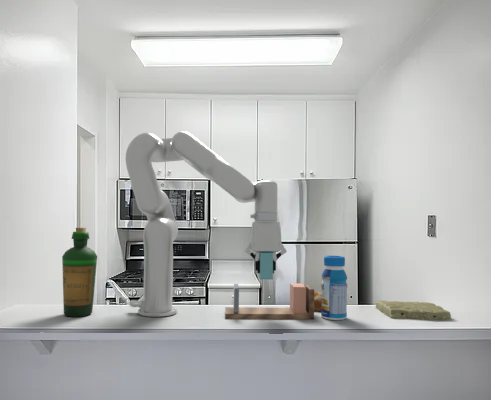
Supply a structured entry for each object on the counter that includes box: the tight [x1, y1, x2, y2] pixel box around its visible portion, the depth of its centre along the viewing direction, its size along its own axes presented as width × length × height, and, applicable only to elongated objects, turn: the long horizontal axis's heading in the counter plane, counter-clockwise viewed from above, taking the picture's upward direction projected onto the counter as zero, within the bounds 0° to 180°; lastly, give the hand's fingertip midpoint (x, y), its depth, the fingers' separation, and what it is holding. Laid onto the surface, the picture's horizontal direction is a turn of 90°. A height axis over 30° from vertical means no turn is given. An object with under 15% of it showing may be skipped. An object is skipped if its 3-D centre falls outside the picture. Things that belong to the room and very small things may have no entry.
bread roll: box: [314, 291, 322, 312], centre depth 156 cm, size 10×10×8 cm
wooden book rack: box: [224, 283, 315, 320], centre depth 144 cm, size 28×10×10 cm, turn 93°
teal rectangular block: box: [258, 252, 274, 280], centre depth 144 cm, size 4×8×8 cm, turn 3°
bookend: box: [232, 283, 240, 313], centre depth 144 cm, size 2×9×8 cm, turn 3°
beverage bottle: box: [320, 255, 348, 321], centre depth 142 cm, size 8×8×20 cm
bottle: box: [61, 227, 98, 318], centre depth 141 cm, size 11×11×28 cm
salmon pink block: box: [289, 282, 306, 314], centre depth 145 cm, size 4×8×8 cm, turn 2°
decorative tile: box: [375, 300, 452, 321], centre depth 150 cm, size 19×20×4 cm
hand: (265, 272), depth 144 cm, fingers closed on teal rectangular block, 4 cm apart
